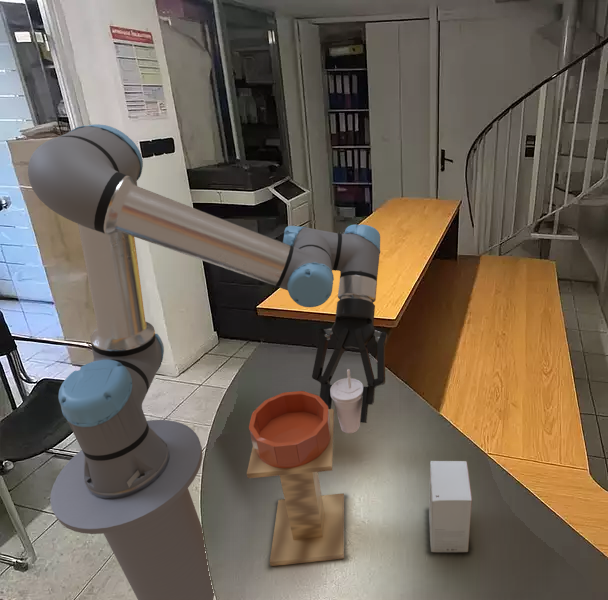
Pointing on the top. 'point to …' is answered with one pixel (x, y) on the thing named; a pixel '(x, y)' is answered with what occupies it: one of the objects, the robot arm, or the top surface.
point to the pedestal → (304, 511)
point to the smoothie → (348, 402)
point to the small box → (449, 506)
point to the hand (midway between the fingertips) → (344, 421)
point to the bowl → (290, 429)
